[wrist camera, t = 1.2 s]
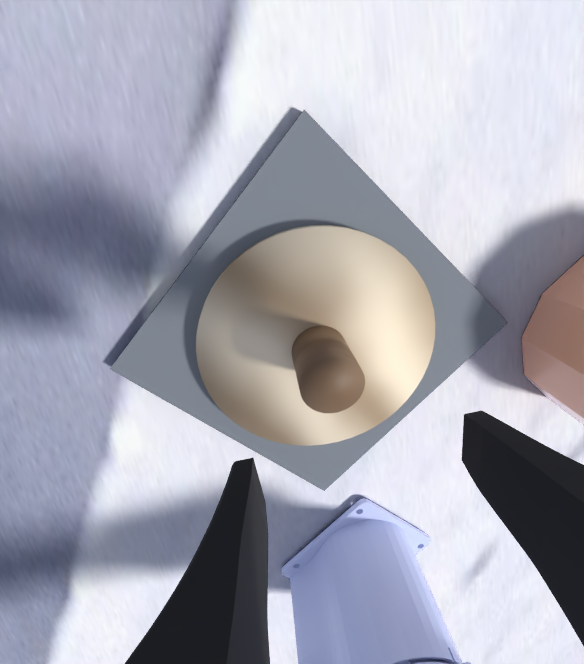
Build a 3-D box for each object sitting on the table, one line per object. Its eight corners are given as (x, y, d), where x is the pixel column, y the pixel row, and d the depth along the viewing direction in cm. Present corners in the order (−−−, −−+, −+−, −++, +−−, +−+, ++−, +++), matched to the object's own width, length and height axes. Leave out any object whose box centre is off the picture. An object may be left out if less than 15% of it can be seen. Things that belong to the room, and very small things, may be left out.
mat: (322, 485, 25) (324, 490, 25) (113, 364, 20) (109, 369, 19) (502, 319, 21) (508, 322, 21) (302, 111, 16) (304, 109, 15)
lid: (323, 467, 24) (337, 525, 20) (150, 364, 19) (124, 411, 15) (473, 326, 21) (525, 362, 17) (306, 164, 16) (325, 160, 12)
